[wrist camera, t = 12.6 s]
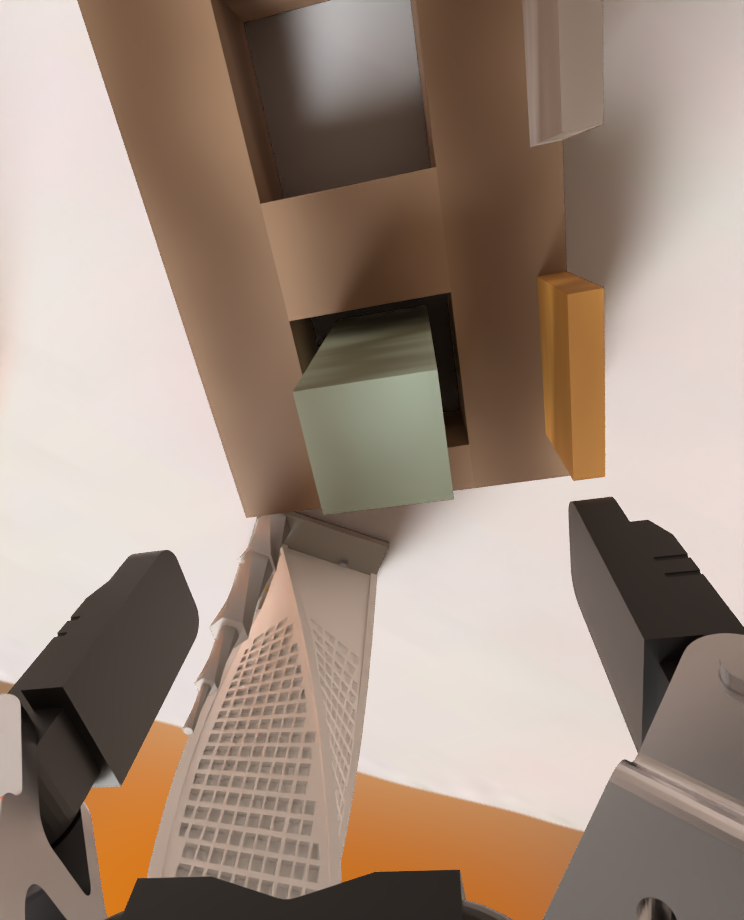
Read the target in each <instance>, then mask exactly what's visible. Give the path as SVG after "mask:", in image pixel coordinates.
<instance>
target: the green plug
mask: <svg viewBox="0 0 744 920" xmlns="http://www.w3.org/2000/svg"><path fill="white" fill-rule="evenodd" d="M293 395H294V399H295V403H296V407H297V411H298V415H299V419H300V423H301V427H302V431H303V435H304V439H305V443H306V447H307V452H308V456H309V460H310V464H311V468H312V472H313V476H314V480H315V484H316V488H317V492H318V496H319V500H320V504H321V508H322V512H323V515H328V514H337V513H345V512H353V511H361V510H370V509H378V508H386V507H394V506H403V505H411V504H419V503H427V502H435V501H444V500H452V499H454V495H453V487H452V480H451V472H450V464H449V456H448V449H447V441H446V433H445V425H444V418H443V410H442V402H441V394H440V387H439V379H438V371H437V365H436V359H435V353H434V347H433V341H432V335H431V329H430V323H429V317H428V311H427V305H424V306H418V307H412V308H406V309H400V310H394V311H388V312H382V313H376V314H370V315H364V316H359V317H353V318H347V319H341V320H336V322H335V323H334V325H333V327H332V328H331V330H330V332H329V333H328V335H327V336H326V338H325V340H324V341H323V343H322V345H321V346H320V348H319V350H318V351H317V353H316V354H315V356H314V358H313V359H312V361H311V363H310V364H309V366H308V368H307V369H306V371H305V372H304V374H303V376H302V377H301V379H300V381H299V382H298V384H297V386H296V387H295V389H294V390H293Z"/></svg>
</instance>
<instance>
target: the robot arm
mask: <svg viewBox="0 0 744 920" xmlns="http://www.w3.org/2000/svg"><path fill="white" fill-rule="evenodd" d="M569 534H570V557H571V574H572V581H573V586H574V591H575V595H576V599H577V602H578V604H579V607H580V609H581V612H582V614H583V617H584V619H585V622H586V624H587V627H588V629H589V632H590V634H591V637H592V639H593V642H594V644H595V647H596V649H597V652H598V654H599V657H600V659H601V662H602V664H603V667H604V669H605V672H606V674H607V677H608V679H609V682H610V684H611V687H612V689H613V692H614V694H615V697H616V699H617V702H618V704H619V707H620V709H621V712H622V714H623V717H624V719H625V722H626V724H627V727H628V729H629V732H630V734H631V737H632V739H633V742H634V744H635V747H636V749H637V752H638V755H637V757H636V758H635V760H634V761H633V762H630V761H627V760H622V761H621V762H620V763H619V764H618V766H617V767H616V768H615V770H614V772H613V773H612V775H611V777H610V779H609V781H608V783H607V785H606V788H605V790H604V792H603V794H602V796H601V798H600V800H599V802H598V804H597V806H596V809H595V811H594V813H593V815H592V817H591V819H590V821H589V823H588V825H587V828H586V830H585V832H584V834H583V836H582V838H581V840H580V842H579V844H578V847H577V849H576V851H575V853H574V855H573V857H572V859H571V861H570V863H569V866H568V868H567V870H566V872H565V874H564V876H563V878H562V880H561V882H560V884H559V887H558V889H557V891H556V893H555V895H554V897H553V899H552V901H551V903H550V905H549V908H548V910H547V912H546V914H545V916H544V918H543V920H744V627H743V626H742V624H741V623H740V622H739V620H738V619H737V618H736V616H735V615H734V614H733V613H732V611H731V610H730V609H729V607H728V606H727V605H726V603H725V602H724V601H723V599H722V598H721V597H720V596H719V594H718V593H717V592H716V590H715V589H714V588H713V586H712V585H711V584H710V583H709V581H708V580H707V579H706V577H705V576H704V575H703V574H701V573H700V569H699V568H698V567H697V566H696V564H695V563H694V562H693V560H692V559H691V558H688V555H687V552H686V551H685V550H684V549H683V547H682V546H681V545H680V543H679V542H678V541H677V539H676V538H675V537H674V535H673V534H671V533H669V532H668V531H666V530H664V529H663V528H661V527H659V526H658V525H656V524H654V523H653V522H651V521H649V520H642V521H634V522H630V521H629V520H628V518H627V517H626V515H625V514H624V512H623V511H622V509H621V508H620V506H619V505H618V503H617V502H616V500H615V499H614V498H613V497H605V498H597V499H589V500H581V501H572V502H570V504H569ZM198 627H199V616H198V610H197V607H196V604H195V602H194V599H193V597H192V594H191V592H190V590H189V587H188V585H187V582H186V580H185V577H184V575H183V572H182V570H181V568H180V565H179V563H178V560H177V558H176V556H175V555H174V554H173V553H172V552H171V551H169V550H162V551H154V552H146V553H138V554H132V555H131V556H129V557H128V558H127V559H126V561H125V562H124V563H123V564H122V565H121V567H120V568H119V569H118V570H117V572H116V573H115V574H114V575H113V577H112V578H111V579H110V580H109V581H108V582H107V583H106V584H104V585H103V586H102V587H100V588H99V589H98V590H96V591H95V592H94V593H93V594H91V595H90V596H89V597H87V598H86V599H85V601H84V602H83V603H82V604H81V605H80V607H79V608H78V609H77V610H76V611H75V613H74V614H73V615H72V616H71V621H67V622H66V624H65V625H64V626H63V627H62V628H61V630H60V631H59V632H58V637H54V638H53V639H52V640H51V642H50V643H49V644H48V645H47V646H46V648H45V649H44V650H43V651H42V652H41V654H40V655H39V656H38V657H37V658H36V660H35V661H34V662H33V663H32V664H31V666H30V667H29V668H28V669H27V670H26V672H25V673H24V674H23V675H22V677H21V678H20V679H19V680H18V681H17V683H16V684H15V685H14V686H13V687H12V689H11V690H10V691H9V692H8V693H7V694H0V920H512V919H511V918H509V917H507V916H506V915H504V914H502V913H499V912H497V911H495V910H493V909H491V908H488V907H486V906H484V905H481V904H478V903H475V902H471V901H468V900H466V898H465V893H464V888H463V883H462V878H461V874H460V870H437V871H399V872H374V873H371V874H368V875H365V876H362V877H359V878H355V879H352V880H349V881H346V882H343V883H340V884H337V885H334V886H331V887H328V888H325V889H322V890H318V891H315V892H312V893H309V894H306V895H303V896H300V897H297V898H293V899H280V898H276V897H273V896H270V895H267V894H264V893H261V892H258V891H255V890H252V889H249V888H245V887H242V886H239V885H236V884H233V883H230V882H227V881H224V880H221V879H218V878H215V877H212V876H209V877H171V878H138V879H137V881H136V884H135V886H134V889H133V891H132V893H131V896H130V898H129V901H128V903H127V906H126V908H125V911H123V912H120V913H118V914H115V915H113V916H111V917H109V918H107V915H106V910H105V906H104V900H103V893H102V887H101V879H100V873H99V866H98V859H97V853H96V846H95V839H94V832H93V826H92V819H91V814H90V810H89V809H88V807H87V806H86V804H85V802H84V800H85V798H86V796H87V795H88V793H89V791H90V789H91V788H100V787H118V786H121V785H122V783H123V781H124V779H125V777H126V775H127V773H128V771H129V769H130V767H131V766H132V764H133V762H134V760H135V758H136V756H137V754H138V752H139V750H140V748H141V746H142V744H143V742H144V740H145V738H146V736H147V734H148V732H149V730H150V728H151V726H152V724H153V722H154V720H155V718H156V716H157V714H158V712H159V710H160V708H161V706H162V704H163V702H164V700H165V698H166V696H167V694H168V692H169V690H170V688H171V686H172V684H173V682H174V680H175V678H176V676H177V674H178V672H179V670H180V668H181V666H182V665H183V663H184V661H185V659H186V657H187V655H188V653H189V651H190V649H191V647H192V645H193V643H194V641H195V639H196V636H197V633H198Z"/></svg>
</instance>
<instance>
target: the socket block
mask: <svg viewBox="0 0 744 920" xmlns="http://www.w3.org/2000/svg"><path fill="white" fill-rule="evenodd" d="M77 1H78V4H79V7H80V10H81V13H82V16H83V19H84V22H85V25H86V28H87V31H88V35H89V38H90V41H91V44H92V47H93V50H94V53H95V56H96V59H97V62H98V65H99V68H100V71H101V74H102V77H103V80H104V84H105V87H106V90H107V93H108V96H109V99H110V102H111V105H112V108H113V111H114V114H115V117H116V120H117V123H118V126H119V129H120V133H121V136H122V139H123V142H124V145H125V148H126V151H127V154H128V157H129V160H130V163H131V166H132V169H133V172H134V175H135V178H136V182H137V185H138V188H139V191H140V194H141V197H142V200H143V203H144V206H145V209H146V212H147V215H148V218H149V221H150V224H151V227H152V230H153V234H154V237H155V240H156V243H157V246H158V249H159V252H160V255H161V258H162V261H163V264H164V267H165V270H166V273H167V276H168V279H169V283H170V286H171V289H172V292H173V295H174V298H175V301H176V304H177V307H178V310H179V313H180V316H181V319H182V322H183V325H184V328H185V332H186V335H187V338H188V341H189V344H190V347H191V350H192V353H193V356H194V359H195V362H196V365H197V368H198V371H199V374H200V377H201V381H202V384H203V387H204V390H205V393H206V396H207V399H208V402H209V405H210V408H211V411H212V414H213V417H214V420H215V423H216V426H217V429H218V433H219V436H220V439H221V442H222V445H223V448H224V451H225V454H226V457H227V460H228V463H229V466H230V469H231V472H232V475H233V478H234V482H235V485H236V488H237V491H238V494H239V497H240V500H241V503H242V506H243V509H244V512H245V515H246V518H249V517H256V516H264V515H272V514H279V513H287V512H295V511H302V510H310V509H317V508H321V504H320V500H319V496H318V492H317V488H316V484H315V480H314V476H313V472H312V468H311V464H310V460H309V456H308V452H307V447H306V443H305V439H304V435H303V431H302V427H301V423H300V419H299V415H298V411H297V407H296V403H295V399H294V395H293V390H294V389H295V387H296V386H297V384H298V382H299V381H300V379H301V377H302V376H303V374H304V372H305V371H306V369H307V368H308V366H309V364H310V363H311V361H312V359H313V358H314V356H315V354H316V353H317V351H318V348H317V343H316V339H315V334H314V330H313V326H312V321H311V317H315V316H321V315H327V314H332V313H338V312H343V311H349V310H354V309H360V308H366V307H371V306H377V305H382V304H388V303H393V302H399V301H405V300H410V299H416V298H421V297H427V296H433V295H438V294H444V293H446V294H447V302H448V310H449V319H450V327H451V335H452V343H453V351H454V359H455V367H456V376H457V384H458V392H459V400H460V408H461V410H458V411H451V412H445V413H443V418H444V425H445V433H446V441H447V449H448V456H449V464H450V472H451V480H452V487H453V491H455V490H463V489H471V488H478V487H486V486H493V485H501V484H509V483H516V482H524V481H532V480H539V479H547V478H555V477H562V476H571V477H572V479H573V481H576V480H584V479H591V478H599V477H605V348H604V288H603V287H601V286H598V285H596V284H594V283H592V282H589V281H587V280H585V279H583V278H580V277H578V276H576V275H574V274H571V273H569V272H567V263H566V233H565V202H564V171H563V140H564V139H567V138H569V137H572V136H574V135H577V134H579V133H582V132H584V131H587V130H589V129H592V128H594V127H597V126H599V125H602V124H603V0H410V1H411V9H412V17H413V25H414V34H415V42H416V50H417V58H418V66H419V74H420V82H421V91H422V99H423V107H424V115H425V123H426V131H427V139H428V148H429V156H430V164H431V168H428V169H423V170H419V171H414V172H409V173H404V174H400V175H395V176H390V177H385V178H381V179H376V180H371V181H366V182H362V183H357V184H352V185H348V186H343V187H338V188H333V189H329V190H324V191H319V192H314V193H310V194H305V195H300V196H295V197H291V198H286V199H283V194H282V190H281V185H280V181H279V177H278V172H277V168H276V164H275V159H274V155H273V150H272V146H271V142H270V137H269V133H268V128H267V124H266V120H265V115H264V111H263V107H262V102H261V98H260V93H259V89H258V85H257V80H256V76H255V71H254V67H253V63H252V58H251V54H250V50H249V45H248V41H247V36H246V32H245V28H244V22H248V21H252V20H256V19H260V18H264V17H268V16H271V15H275V14H279V13H283V12H287V11H291V10H295V9H298V8H302V7H306V6H310V5H314V4H318V3H322V2H326V1H329V0H77Z"/></svg>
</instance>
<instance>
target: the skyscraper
mask: <svg viewBox="0 0 744 920" xmlns="http://www.w3.org/2000/svg"><path fill="white" fill-rule="evenodd" d="M388 548H389V543H387V542H384V541H381V540H378V539H375V538H372V537H369V536H366V535H363V534H360V533H357V532H354V531H351V530H348V529H345V528H342V527H339V526H336V525H333V524H329V523H326V522H323V521H320V520H317V519H314V518H311V517H308V516H305V515H302V514H299V513H296V512H287V513H279V514H272V515H264V516H257V519H256V523H255V526H254V529H253V533H252V536H251V539H250V543H249V546H248V548H247V549H246V551H245V552H244V553H243V554H242V555H241V556H240V557H239V558H238V562H239V567H238V570H237V573H236V577H235V580H234V583H233V586H232V589H231V592H230V594H229V597H228V599H227V601H226V602H225V604H224V606H223V608H222V609H221V611H220V612H219V614H218V615H217V616H216V618H215V619H214V621H213V622H212V624H211V625H210V630H211V632H212V635H213V637H214V640H215V642H214V645H213V648H212V651H211V654H210V656H209V659H208V661H207V663H206V665H205V667H204V668H203V670H202V672H201V673H200V675H199V677H198V678H197V680H196V682H195V686H196V688H197V690H198V695H197V698H196V701H195V703H194V706H193V709H192V711H191V713H190V715H189V717H188V719H187V721H186V723H185V725H184V727H183V729H182V730H183V732H184V734H188V735H189V737H188V740H187V743H186V745H185V748H184V750H183V753H182V756H181V759H180V761H179V764H178V766H177V770H176V773H175V776H174V779H173V782H172V785H171V788H170V792H169V795H168V798H167V801H166V805H165V807H164V811H163V815H162V819H161V822H160V826H159V830H158V834H157V837H156V842H155V845H154V849H153V854H152V857H151V861H150V866H149V871H148V875H147V878H171V877H209V876H212V877H215V878H218V879H221V880H224V881H227V882H230V883H233V884H236V885H239V886H242V887H245V888H249V889H252V890H255V891H258V892H261V893H264V894H267V895H270V896H273V897H276V898H280V899H293V898H297V897H300V896H303V895H306V894H309V893H312V892H315V891H318V890H322V889H325V888H328V887H331V886H334V885H337V884H340V883H341V858H342V853H343V849H344V844H345V839H346V833H347V828H348V822H349V816H350V810H351V804H352V799H353V793H354V787H355V780H356V774H357V767H358V760H359V753H360V746H361V739H362V731H363V723H364V714H365V706H366V697H367V689H368V679H369V668H370V657H371V647H372V636H373V623H374V610H375V597H376V584H377V573H378V570H379V568H380V566H381V564H382V561H383V559H384V557H385V554H386V552H387V550H388Z"/></svg>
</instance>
